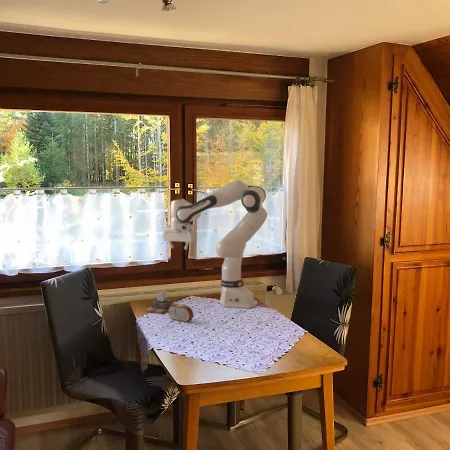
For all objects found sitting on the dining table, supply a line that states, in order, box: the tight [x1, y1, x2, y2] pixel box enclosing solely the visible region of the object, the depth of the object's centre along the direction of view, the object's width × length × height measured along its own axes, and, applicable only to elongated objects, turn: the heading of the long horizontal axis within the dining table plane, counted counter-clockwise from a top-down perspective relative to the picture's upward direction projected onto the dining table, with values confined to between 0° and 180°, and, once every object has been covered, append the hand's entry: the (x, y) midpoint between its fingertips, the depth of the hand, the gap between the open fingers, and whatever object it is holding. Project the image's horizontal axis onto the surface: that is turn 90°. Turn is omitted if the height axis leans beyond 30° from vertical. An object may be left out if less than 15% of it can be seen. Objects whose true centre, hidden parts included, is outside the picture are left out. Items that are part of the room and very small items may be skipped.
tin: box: [167, 303, 194, 323], centre depth 257 cm, size 15×3×8 cm, turn 58°
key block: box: [156, 290, 167, 303], centre depth 278 cm, size 4×3×8 cm
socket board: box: [144, 299, 177, 315], centre depth 278 cm, size 11×17×4 cm, turn 156°
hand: (178, 248), depth 293 cm, fingers open, 8 cm apart
